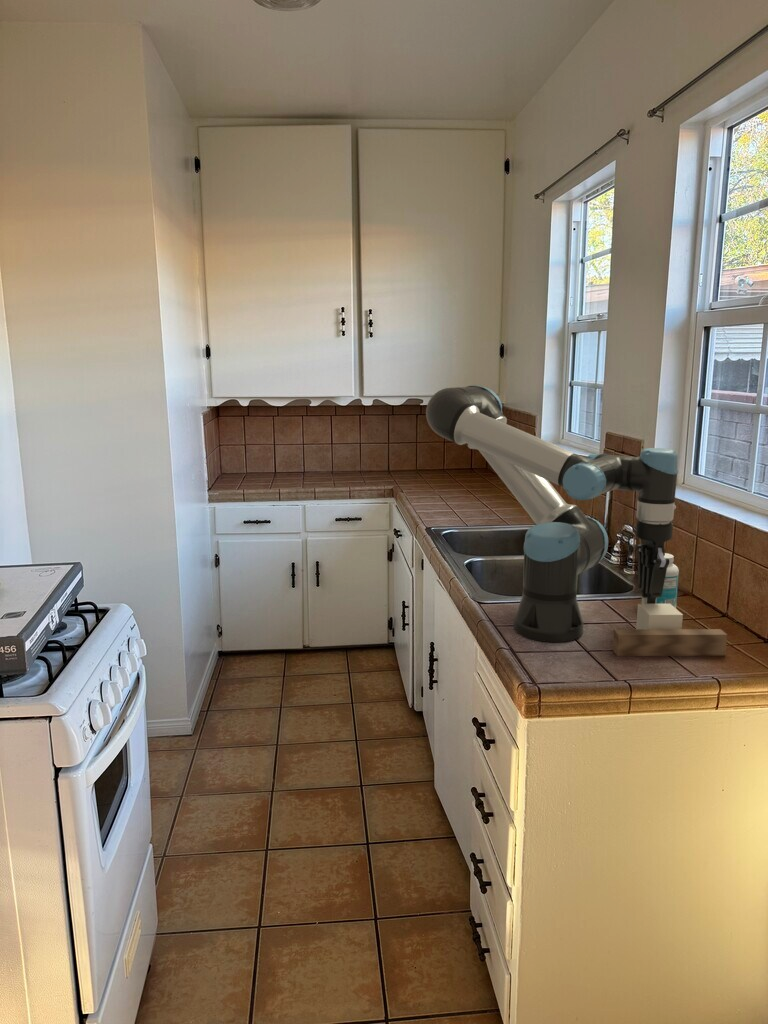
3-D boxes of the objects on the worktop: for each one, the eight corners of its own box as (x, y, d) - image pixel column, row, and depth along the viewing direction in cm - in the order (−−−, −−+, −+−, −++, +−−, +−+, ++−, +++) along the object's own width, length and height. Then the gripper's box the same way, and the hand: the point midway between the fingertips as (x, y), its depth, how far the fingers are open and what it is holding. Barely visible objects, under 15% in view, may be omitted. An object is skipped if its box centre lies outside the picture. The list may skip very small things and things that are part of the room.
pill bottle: (649, 602, 181) (653, 549, 179) (680, 608, 177) (684, 554, 174) (638, 610, 176) (642, 555, 173) (669, 616, 171) (674, 561, 168)
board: (617, 655, 149) (618, 635, 148) (612, 650, 152) (614, 629, 151) (725, 655, 149) (727, 634, 148) (718, 649, 152) (720, 629, 151)
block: (646, 646, 154) (649, 614, 152) (635, 634, 161) (637, 603, 159) (680, 646, 154) (682, 614, 152) (667, 633, 161) (670, 603, 159)
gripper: (684, 527, 152) (675, 634, 157) (660, 513, 164) (653, 613, 169) (648, 527, 152) (641, 634, 157) (627, 514, 164) (620, 613, 169)
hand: (647, 623), depth 163 cm, fingers closed
